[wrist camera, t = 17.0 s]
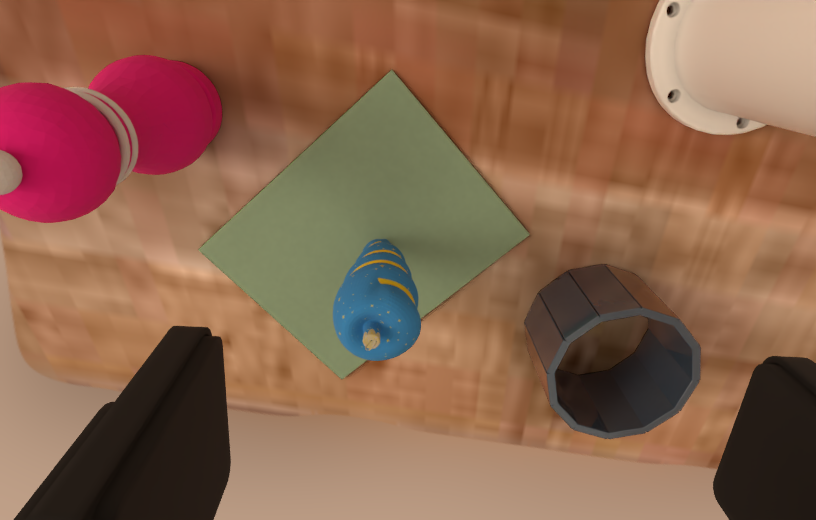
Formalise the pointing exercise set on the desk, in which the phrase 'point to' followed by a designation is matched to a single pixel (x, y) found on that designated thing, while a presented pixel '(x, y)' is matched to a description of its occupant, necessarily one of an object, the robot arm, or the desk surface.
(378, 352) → the ornament
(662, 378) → the crock
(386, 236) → the mat
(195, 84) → the pepper mill
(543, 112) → the desk surface
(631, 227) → the desk surface
